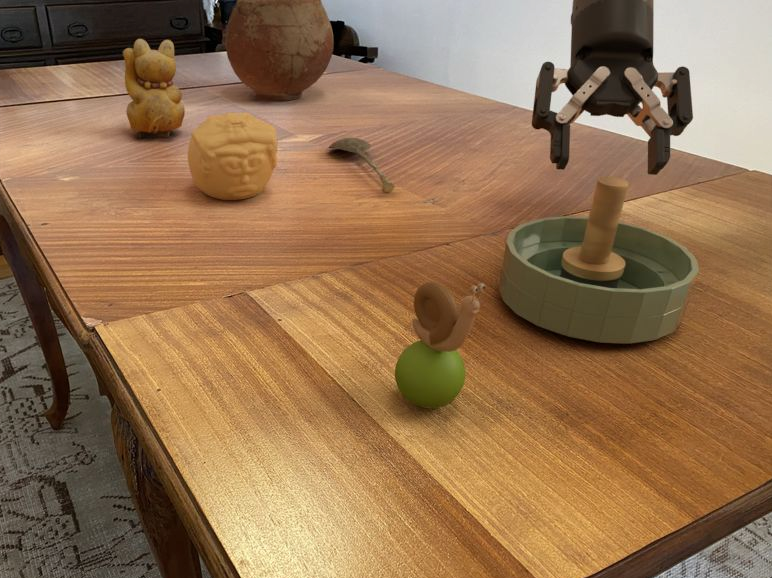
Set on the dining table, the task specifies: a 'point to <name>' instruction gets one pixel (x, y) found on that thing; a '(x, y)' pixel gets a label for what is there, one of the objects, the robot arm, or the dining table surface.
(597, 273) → the dish brush
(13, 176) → the dining table surface
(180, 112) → the decorative figurine
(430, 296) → the snail figurine
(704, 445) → the dining table surface
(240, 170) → the sculpture
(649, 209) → the dining table surface
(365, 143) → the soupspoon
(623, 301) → the bowl
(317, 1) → the jug
